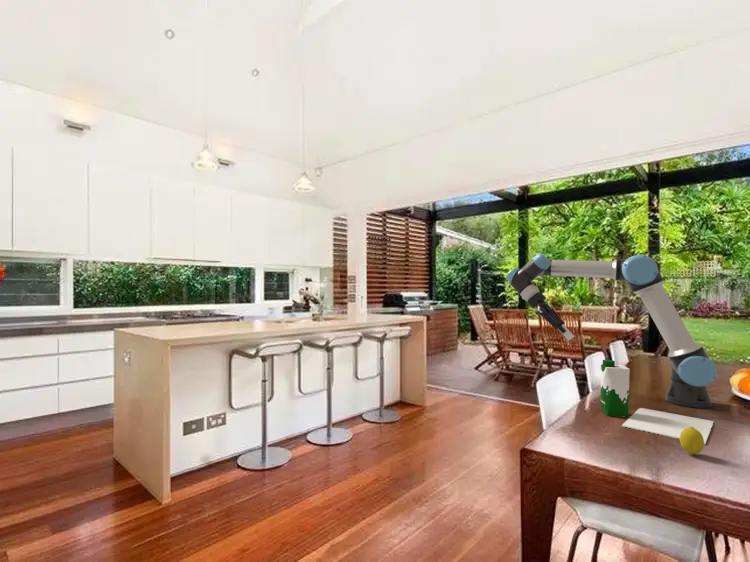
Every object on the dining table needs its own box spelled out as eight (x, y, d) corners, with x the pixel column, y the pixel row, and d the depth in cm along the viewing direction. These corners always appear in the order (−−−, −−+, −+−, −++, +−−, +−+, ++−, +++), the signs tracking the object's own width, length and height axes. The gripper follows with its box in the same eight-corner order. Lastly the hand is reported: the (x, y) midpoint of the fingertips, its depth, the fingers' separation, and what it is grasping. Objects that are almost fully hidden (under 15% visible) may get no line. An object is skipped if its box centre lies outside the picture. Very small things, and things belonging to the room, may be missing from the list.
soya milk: (597, 409, 162) (598, 358, 162) (623, 411, 160) (623, 359, 160) (605, 416, 153) (605, 362, 153) (632, 418, 151) (632, 363, 151)
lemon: (675, 452, 121) (675, 425, 121) (687, 449, 123) (687, 422, 123) (696, 460, 116) (696, 431, 116) (708, 456, 118) (708, 428, 118)
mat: (713, 422, 147) (713, 421, 147) (705, 444, 127) (705, 443, 127) (639, 408, 163) (639, 407, 163) (621, 426, 142) (621, 425, 142)
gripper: (533, 302, 193) (570, 342, 181) (521, 302, 183) (558, 345, 172) (545, 291, 189) (583, 331, 177) (533, 291, 180) (572, 334, 168)
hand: (571, 338), depth 175 cm, fingers closed
